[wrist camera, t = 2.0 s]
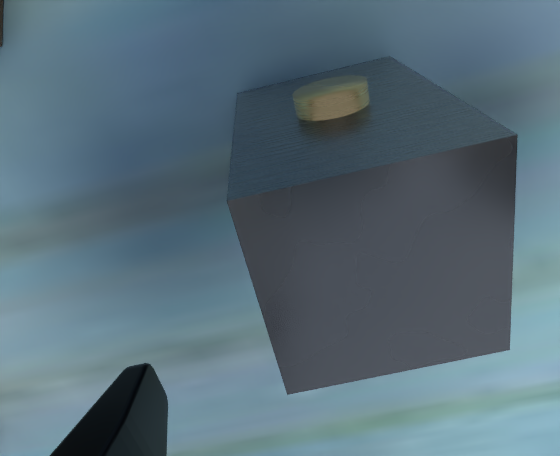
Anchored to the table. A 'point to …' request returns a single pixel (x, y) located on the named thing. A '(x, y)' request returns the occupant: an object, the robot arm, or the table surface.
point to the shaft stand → (1, 21)
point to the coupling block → (373, 222)
